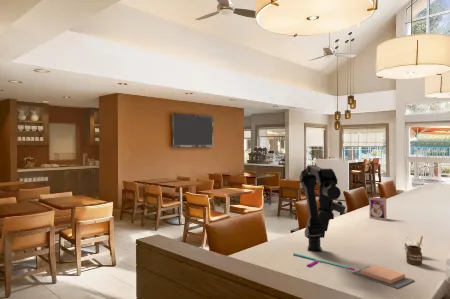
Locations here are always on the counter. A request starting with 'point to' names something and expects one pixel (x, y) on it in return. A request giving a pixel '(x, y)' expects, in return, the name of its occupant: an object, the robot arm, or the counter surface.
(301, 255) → the squeegee
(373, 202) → the greeting card
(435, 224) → the counter surface
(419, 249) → the utensil holder
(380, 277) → the ceramic tile
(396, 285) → the rubber mat
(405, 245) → the elephant figurine
